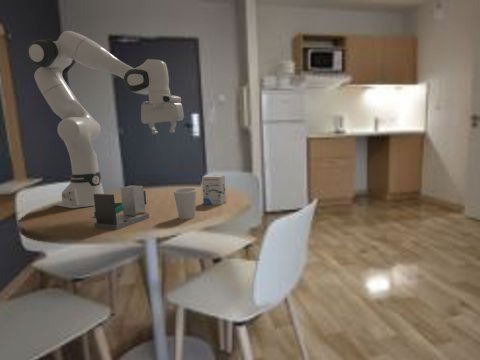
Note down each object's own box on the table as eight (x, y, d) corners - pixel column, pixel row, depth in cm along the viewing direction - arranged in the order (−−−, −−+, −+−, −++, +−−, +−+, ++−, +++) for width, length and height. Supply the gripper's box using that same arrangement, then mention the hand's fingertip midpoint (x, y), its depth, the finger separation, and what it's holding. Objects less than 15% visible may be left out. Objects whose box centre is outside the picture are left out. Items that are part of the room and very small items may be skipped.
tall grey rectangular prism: (123, 214, 132) (120, 187, 130) (135, 210, 138) (133, 184, 136) (141, 216, 128) (139, 188, 127) (153, 211, 134) (151, 185, 132)
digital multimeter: (93, 218, 138) (92, 211, 138) (110, 209, 153) (109, 202, 152) (112, 218, 137) (111, 210, 137) (127, 208, 152) (126, 202, 152)
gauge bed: (94, 227, 123) (90, 194, 121) (128, 215, 137) (125, 186, 135) (116, 229, 118) (112, 195, 117) (149, 217, 133) (146, 186, 131)
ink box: (202, 204, 150) (201, 176, 149) (208, 201, 155) (206, 174, 153) (221, 205, 147) (219, 176, 145) (226, 202, 152) (225, 174, 150)
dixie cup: (201, 214, 133) (199, 187, 132) (194, 220, 125) (192, 192, 123) (179, 214, 135) (177, 188, 133) (171, 220, 126) (169, 192, 125)
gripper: (135, 101, 152) (139, 134, 154) (174, 96, 142) (178, 132, 144) (146, 102, 157) (149, 134, 159) (184, 97, 147) (187, 131, 149)
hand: (163, 133), depth 151 cm, fingers open, 8 cm apart
